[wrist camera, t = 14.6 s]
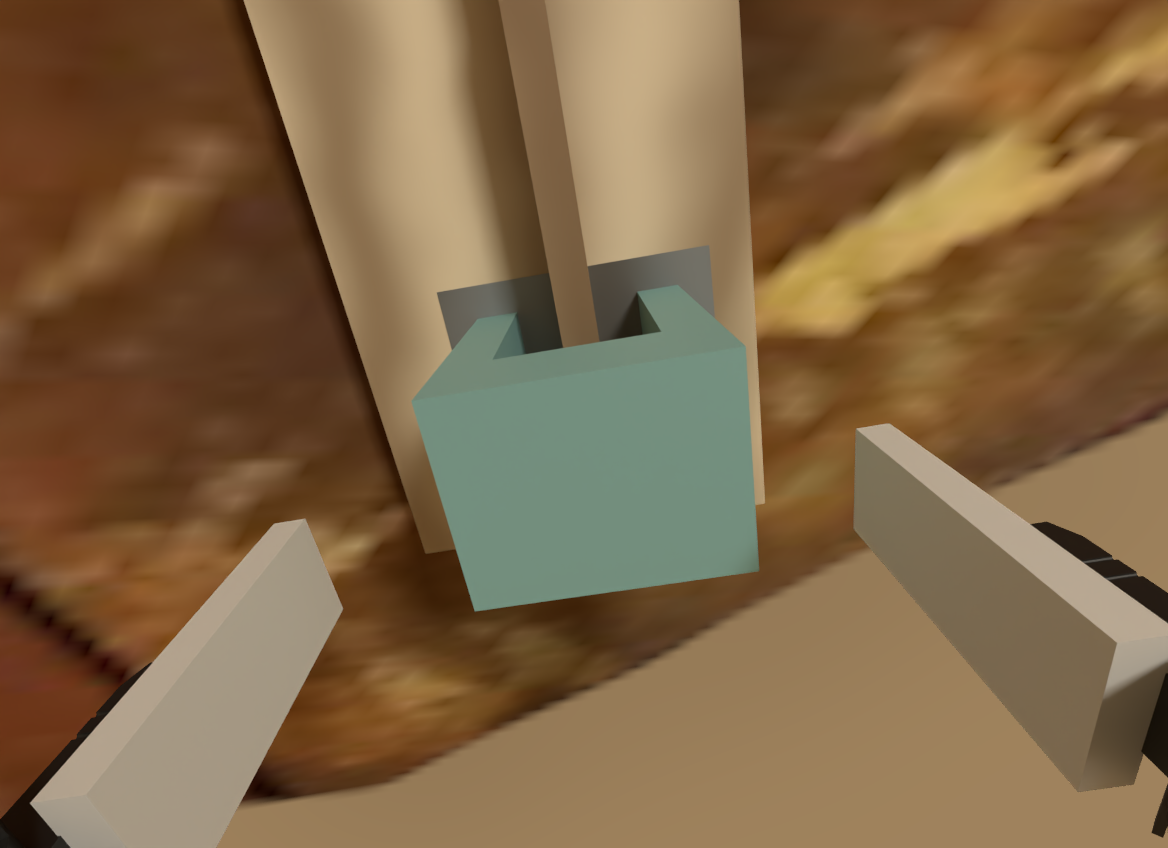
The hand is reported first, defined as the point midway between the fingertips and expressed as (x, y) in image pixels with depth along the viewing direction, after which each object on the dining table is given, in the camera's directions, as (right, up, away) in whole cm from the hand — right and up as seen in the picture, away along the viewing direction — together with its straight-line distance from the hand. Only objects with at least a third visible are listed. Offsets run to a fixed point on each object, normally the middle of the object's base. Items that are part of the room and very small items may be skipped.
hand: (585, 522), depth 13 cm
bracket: (0, +4, +8) cm, 9 cm away
